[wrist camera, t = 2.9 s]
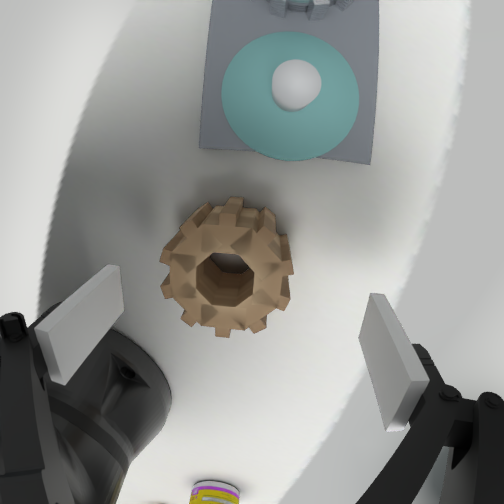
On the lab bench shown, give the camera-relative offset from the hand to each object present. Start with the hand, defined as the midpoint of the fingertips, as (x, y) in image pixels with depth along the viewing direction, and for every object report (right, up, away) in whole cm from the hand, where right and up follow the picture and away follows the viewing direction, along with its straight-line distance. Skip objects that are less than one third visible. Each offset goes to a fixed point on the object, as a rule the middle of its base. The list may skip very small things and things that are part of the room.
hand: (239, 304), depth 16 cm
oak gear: (-1, +3, +8) cm, 8 cm away
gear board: (+3, +17, +2) cm, 18 cm away
